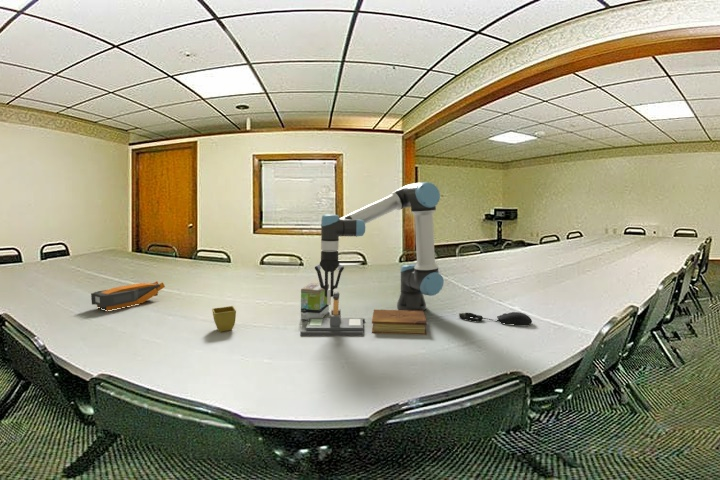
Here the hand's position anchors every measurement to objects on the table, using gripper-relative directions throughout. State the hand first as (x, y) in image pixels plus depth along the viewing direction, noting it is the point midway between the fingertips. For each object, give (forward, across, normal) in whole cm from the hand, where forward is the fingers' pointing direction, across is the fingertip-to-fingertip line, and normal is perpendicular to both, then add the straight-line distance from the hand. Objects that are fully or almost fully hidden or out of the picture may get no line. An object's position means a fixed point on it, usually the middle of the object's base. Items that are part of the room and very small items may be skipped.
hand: (328, 303), depth 164 cm
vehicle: (+13, +110, -39) cm, 118 cm away
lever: (+7, -3, 0) cm, 8 cm away
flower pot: (+12, +45, +2) cm, 47 cm away
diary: (+11, -31, -2) cm, 33 cm away
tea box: (+11, +8, -19) cm, 23 cm away
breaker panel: (+11, -3, 0) cm, 11 cm away
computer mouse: (+10, -77, -11) cm, 78 cm away
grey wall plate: (+11, -3, 0) cm, 11 cm away
